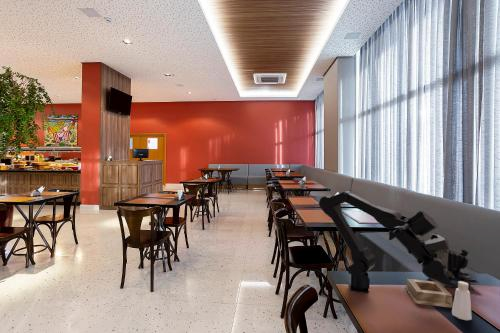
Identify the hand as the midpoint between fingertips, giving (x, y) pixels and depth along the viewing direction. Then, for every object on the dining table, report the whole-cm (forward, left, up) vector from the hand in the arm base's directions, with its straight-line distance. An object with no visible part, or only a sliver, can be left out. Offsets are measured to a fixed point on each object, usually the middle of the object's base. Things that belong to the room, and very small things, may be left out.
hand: (448, 280), depth 94 cm
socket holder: (-2, +10, -11) cm, 15 cm away
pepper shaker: (+4, -1, -11) cm, 12 cm away
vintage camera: (+12, +25, -11) cm, 30 cm away
